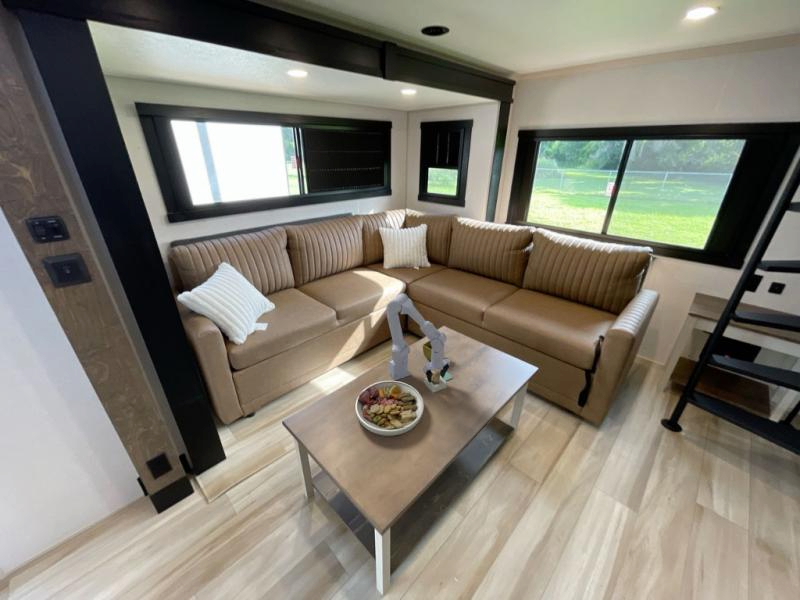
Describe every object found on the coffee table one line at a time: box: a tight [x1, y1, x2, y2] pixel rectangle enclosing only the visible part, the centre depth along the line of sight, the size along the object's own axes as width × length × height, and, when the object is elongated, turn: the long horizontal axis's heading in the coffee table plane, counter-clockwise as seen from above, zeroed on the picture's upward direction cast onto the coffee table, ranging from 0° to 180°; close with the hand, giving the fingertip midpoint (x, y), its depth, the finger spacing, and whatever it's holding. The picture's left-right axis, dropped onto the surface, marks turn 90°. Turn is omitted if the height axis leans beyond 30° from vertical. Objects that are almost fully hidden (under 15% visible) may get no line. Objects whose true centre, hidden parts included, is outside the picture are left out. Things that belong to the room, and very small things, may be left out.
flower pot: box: [422, 340, 432, 361], centre depth 171 cm, size 9×9×9 cm
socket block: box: [423, 376, 448, 393], centre depth 153 cm, size 8×8×3 cm
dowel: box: [431, 369, 440, 385], centre depth 152 cm, size 4×4×8 cm
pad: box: [443, 371, 454, 382], centre depth 159 cm, size 6×6×1 cm
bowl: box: [355, 380, 425, 437], centre depth 137 cm, size 30×30×8 cm
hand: (435, 378), depth 152 cm, fingers open, 7 cm apart
